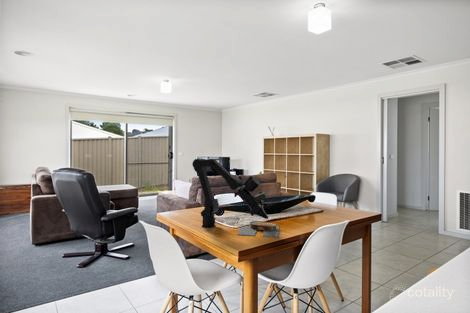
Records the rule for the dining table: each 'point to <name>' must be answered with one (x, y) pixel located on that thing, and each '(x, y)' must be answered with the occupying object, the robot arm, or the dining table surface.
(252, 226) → the tin
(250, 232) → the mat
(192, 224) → the dining table surface
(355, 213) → the dining table surface
